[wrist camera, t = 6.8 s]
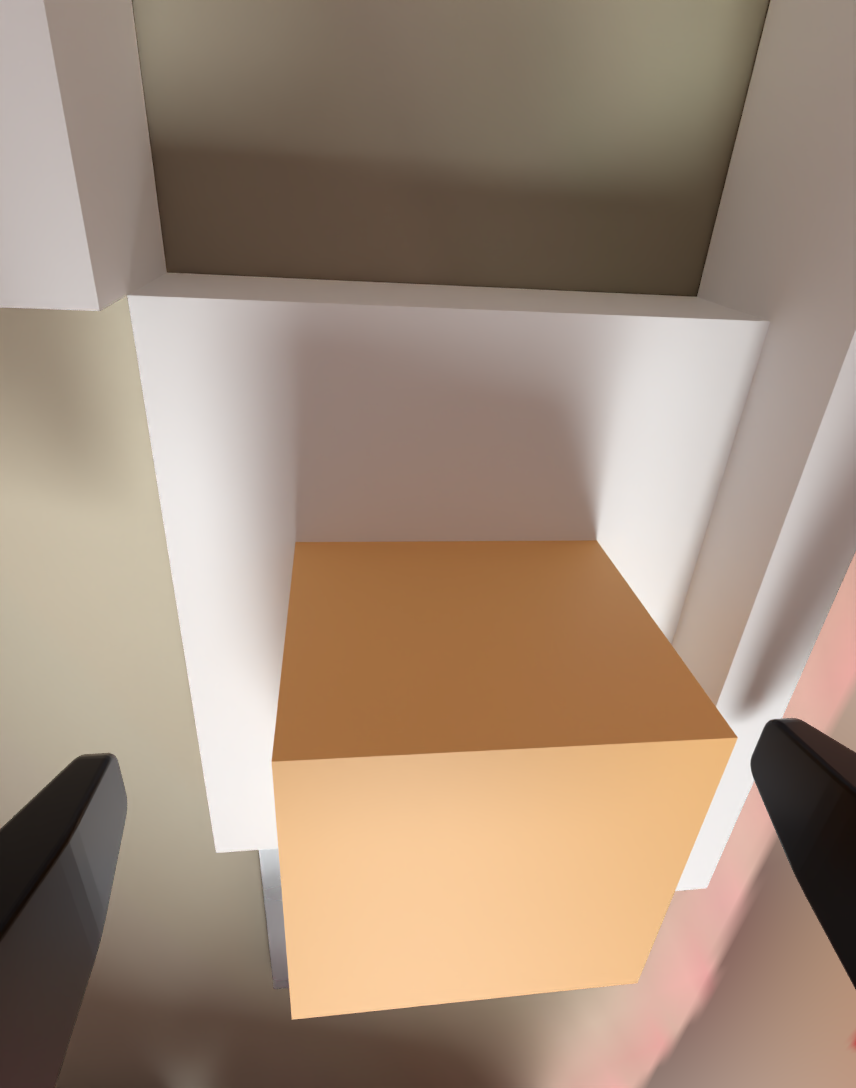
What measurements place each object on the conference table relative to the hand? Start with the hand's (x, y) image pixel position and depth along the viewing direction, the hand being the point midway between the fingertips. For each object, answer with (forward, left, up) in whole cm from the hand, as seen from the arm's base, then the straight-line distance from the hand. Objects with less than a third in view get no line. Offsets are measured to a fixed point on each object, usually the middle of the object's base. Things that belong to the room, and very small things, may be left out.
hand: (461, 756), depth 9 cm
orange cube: (0, 0, -2) cm, 2 cm away
